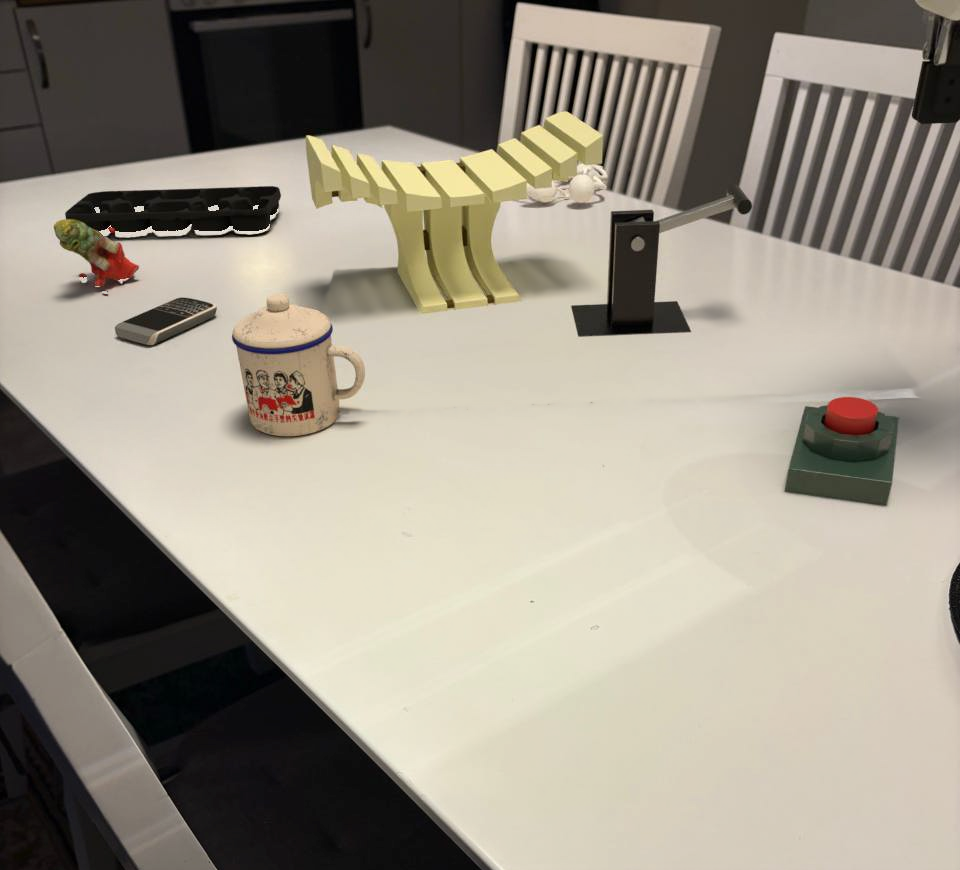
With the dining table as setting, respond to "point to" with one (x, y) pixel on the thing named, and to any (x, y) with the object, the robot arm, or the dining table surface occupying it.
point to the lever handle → (706, 210)
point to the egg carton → (179, 209)
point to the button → (851, 416)
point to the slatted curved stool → (454, 204)
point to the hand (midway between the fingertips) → (935, 120)
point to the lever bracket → (631, 284)
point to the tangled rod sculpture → (574, 185)
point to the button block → (843, 460)
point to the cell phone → (165, 320)
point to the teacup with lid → (291, 368)
